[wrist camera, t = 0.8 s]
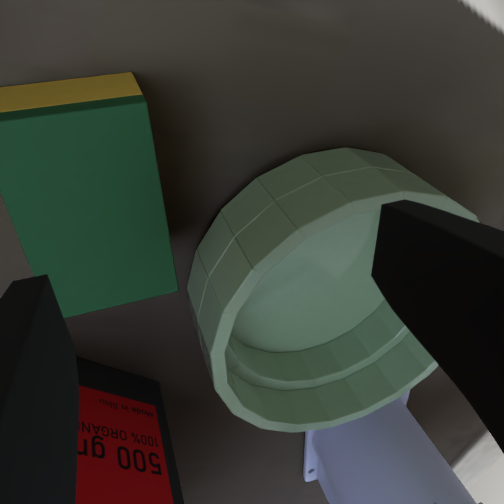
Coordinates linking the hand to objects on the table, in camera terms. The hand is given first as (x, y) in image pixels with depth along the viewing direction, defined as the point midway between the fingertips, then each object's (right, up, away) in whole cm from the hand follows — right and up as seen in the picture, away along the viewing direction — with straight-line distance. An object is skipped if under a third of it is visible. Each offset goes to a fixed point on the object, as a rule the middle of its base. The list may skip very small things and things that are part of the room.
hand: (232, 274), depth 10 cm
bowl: (+4, 0, +14) cm, 14 cm away
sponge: (-6, +3, +7) cm, 10 cm away
